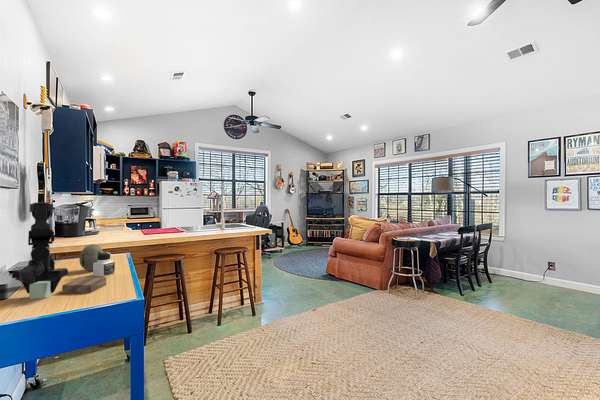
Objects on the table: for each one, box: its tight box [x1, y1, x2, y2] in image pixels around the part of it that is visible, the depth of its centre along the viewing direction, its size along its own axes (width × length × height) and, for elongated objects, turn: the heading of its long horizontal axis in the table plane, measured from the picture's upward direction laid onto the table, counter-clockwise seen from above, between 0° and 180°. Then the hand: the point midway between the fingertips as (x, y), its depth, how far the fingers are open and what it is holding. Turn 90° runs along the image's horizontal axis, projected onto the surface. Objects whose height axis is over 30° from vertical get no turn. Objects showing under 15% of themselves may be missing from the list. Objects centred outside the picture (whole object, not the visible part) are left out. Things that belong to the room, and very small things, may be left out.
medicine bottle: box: [92, 252, 116, 278], centre depth 160 cm, size 7×7×12 cm
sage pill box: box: [29, 281, 52, 300], centre depth 125 cm, size 5×5×6 cm
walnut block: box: [61, 276, 107, 294], centre depth 136 cm, size 12×12×4 cm
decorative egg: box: [78, 244, 105, 272], centre depth 169 cm, size 12×12×15 cm
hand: (40, 293), depth 125 cm, fingers open, 9 cm apart
